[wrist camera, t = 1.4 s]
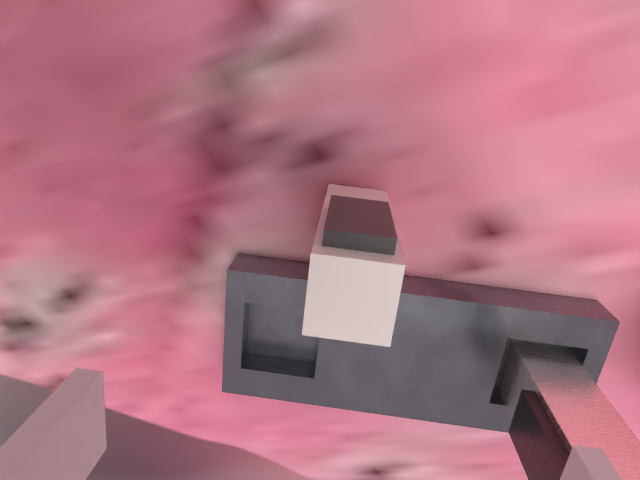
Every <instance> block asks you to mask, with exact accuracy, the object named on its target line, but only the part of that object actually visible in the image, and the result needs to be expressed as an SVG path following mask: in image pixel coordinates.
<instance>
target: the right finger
mask: <svg viewBox="0 0 640 480" xmlns="http://www.w3.org/2000/svg"><path fill="white" fill-rule="evenodd" d="M405 266H406V265H405V261H404V257H403V253H402V249H401V245H400V241H399V237H398V233H397V229H396V225H395V221H394V217H393V213H392V209H391V205H390V201H389V197H388V192H387V191H383V190H375V189H367V188H359V187H351V186H343V185H335V184H329V185H328V189H327V193H326V196H325V200H324V204H323V208H322V212H321V216H320V219H319V223H318V227H317V231H316V235H315V239H314V242H313V246H312V250H311V255H310V264H309V273H308V282H307V291H306V301H305V310H304V319H303V328H302V335H305V336H312V337H319V338H327V339H334V340H341V341H349V342H356V343H363V344H371V345H378V346H385V347H390V346H391V340H392V335H393V330H394V324H395V319H396V314H397V308H398V303H399V298H400V293H401V287H402V282H403V277H404V271H405Z"/></svg>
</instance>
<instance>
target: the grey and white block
mask: <svg viewBox="0 0 640 480" xmlns="http://www.w3.org/2000/svg"><path fill="white" fill-rule="evenodd" d="M309 264H310V263H307V262H299V261H292V260H284V259H277V258H269V257H261V256H254V255H246V254H237V256H236V257H235V259H234V260H233V262H232V263H231V265H230V266H229V268H228V269H227V287H226V310H225V333H224V356H223V379H222V392H227V393H234V394H241V395H248V396H255V397H262V398H269V399H276V400H283V401H290V402H297V403H304V404H311V405H318V406H325V407H332V408H339V409H346V410H353V411H360V412H367V413H374V414H381V415H389V416H396V417H403V418H410V419H417V420H424V421H431V422H438V423H445V424H452V425H459V426H466V427H473V428H480V429H487V430H494V431H501V432H508V433H509V434H510V436H511V439H512V441H513V444H514V446H515V448H516V451H517V453H518V455H519V458H520V460H521V463H522V465H523V467H524V470H525V472H526V475H527V477H528V479H529V480H560V478H561V475H562V473H563V470H564V468H565V465H566V463H567V460H568V458H569V455H570V453H571V450H572V448H573V445H578V446H584V447H591V448H597V449H602V450H603V451H604V453H605V455H606V456H607V458H608V459H609V461H610V462H611V464H612V465H613V467H614V468H615V470H616V472H617V473H618V475H619V476H620V478H621V479H622V480H640V441H639V439H638V438H637V437H636V436H635V434H634V433H633V432H632V430H631V429H630V428H629V426H628V425H627V424H626V422H625V421H624V420H623V419H622V417H621V416H620V415H619V413H618V412H617V411H616V409H615V408H614V407H613V405H612V404H611V403H610V402H609V400H608V399H607V398H606V396H605V395H604V394H603V392H602V391H601V390H600V388H599V387H598V386H597V385H596V383H597V381H598V378H599V375H600V373H601V370H602V367H603V365H604V362H605V360H606V357H607V354H608V352H609V349H610V346H611V344H612V341H613V338H614V336H615V333H616V331H617V328H618V325H619V323H620V322H619V321H618V320H617V319H616V318H615V317H614V316H613V315H612V314H611V313H610V312H609V311H608V310H607V309H606V308H605V307H604V306H603V305H602V304H601V303H599V302H598V301H596V300H589V299H581V298H574V297H566V296H558V295H551V294H543V293H535V292H528V291H520V290H513V289H505V288H497V287H490V286H482V285H475V284H467V283H459V282H452V281H444V280H436V279H429V278H421V277H414V276H406V275H404V277H403V282H402V287H401V293H400V298H399V303H398V308H397V314H396V319H395V324H394V330H393V335H392V340H391V346H390V347H385V346H378V345H371V344H363V343H356V342H349V341H341V340H334V339H327V338H319V337H312V336H305V335H302V328H303V319H304V310H305V301H306V291H307V282H308V273H309Z"/></svg>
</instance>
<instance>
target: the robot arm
mask: <svg viewBox="0 0 640 480" xmlns="http://www.w3.org/2000/svg"><path fill="white" fill-rule="evenodd" d="M105 450H106V425H105V403H104V381H103V372H101V371H94V370H88V369H81V368H76V369H75V370H74V371H73V372H72V373H71V374H70V375H69V376H68V377H67V378H66V379H65V380H64V381H63V382H62V383H61V385H60V386H59V387H58V388H57V389H56V390H55V391H54V392H53V393H52V394H51V395H50V396H49V397H48V398H47V399H46V400H45V401H44V402H43V403H42V404H41V405H40V407H39V408H38V409H37V410H36V411H35V412H34V413H33V414H32V415H31V416H30V417H29V418H28V419H27V420H26V421H25V422H24V423H23V424H22V426H20V428H19V429H18V430H17V431H16V432H15V433H14V434H13V435H12V436H11V437H10V438H9V439H8V440H7V441H6V442H5V443H4V444H3V445H2V446H1V448H0V480H85V479H86V478H87V477H88V475H89V474H90V472H91V471H92V469H93V468H94V466H95V464H96V463H97V462H98V460H99V459H100V457H101V455H102V454H103V453H104V451H105ZM560 480H622V479H621V478H620V476H619V475H618V473H617V472H616V470H615V468H614V467H613V465H612V464H611V462H610V461H609V459H608V458H607V456H606V455H605V453H604V451H603V450H602V449H597V448H591V447H584V446H578V445H573V448H572V450H571V453H570V455H569V458H568V460H567V463H566V465H565V468H564V470H563V473H562V475H561V478H560Z"/></svg>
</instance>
